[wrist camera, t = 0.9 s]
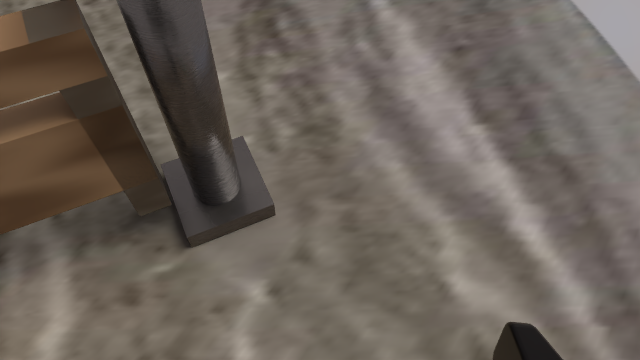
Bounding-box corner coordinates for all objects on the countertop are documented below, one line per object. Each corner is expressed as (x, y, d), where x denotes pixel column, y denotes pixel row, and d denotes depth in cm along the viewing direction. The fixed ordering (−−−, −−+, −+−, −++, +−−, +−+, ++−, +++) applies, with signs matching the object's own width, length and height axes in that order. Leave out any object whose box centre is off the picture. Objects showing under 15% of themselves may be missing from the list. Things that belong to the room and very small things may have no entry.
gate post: (244, 148, 28) (171, -248, 13) (275, 214, 26) (232, -158, 11) (166, 176, 27) (-18, -217, 12) (191, 247, 25) (11, -112, 10)
